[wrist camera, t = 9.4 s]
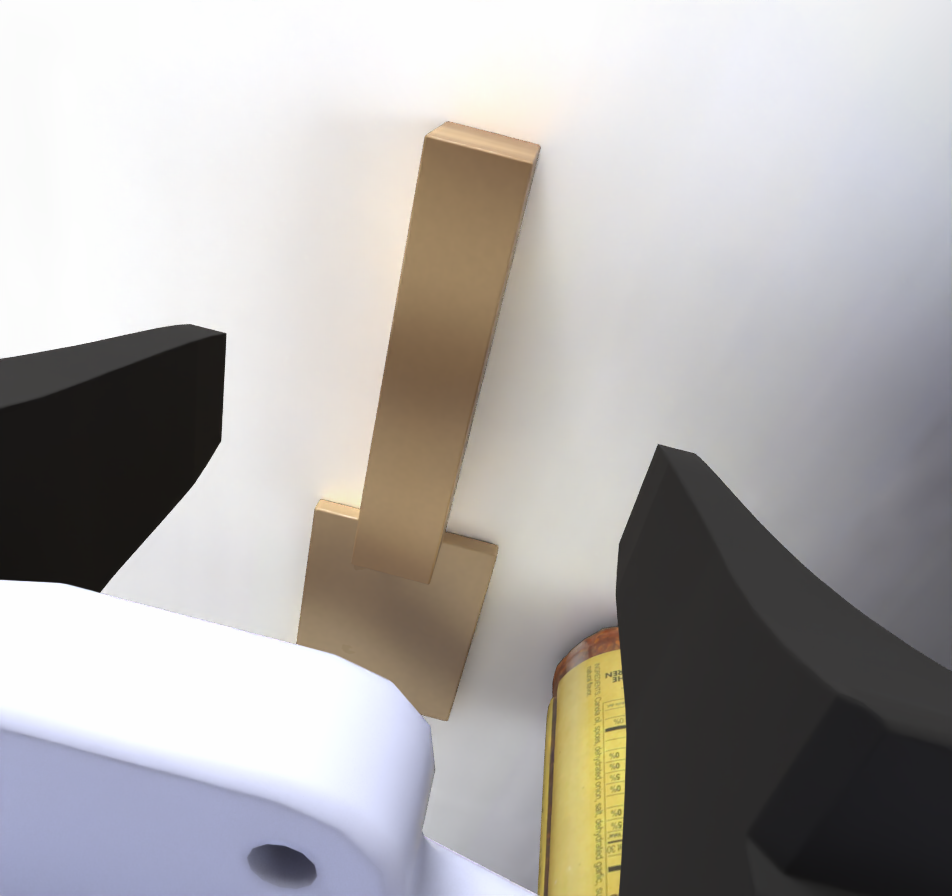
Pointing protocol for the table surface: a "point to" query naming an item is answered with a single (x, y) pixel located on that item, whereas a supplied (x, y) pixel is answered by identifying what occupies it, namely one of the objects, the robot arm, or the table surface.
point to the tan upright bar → (424, 434)
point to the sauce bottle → (584, 772)
